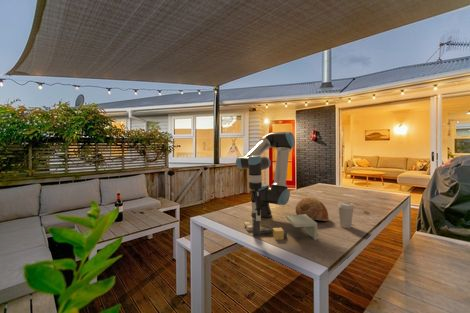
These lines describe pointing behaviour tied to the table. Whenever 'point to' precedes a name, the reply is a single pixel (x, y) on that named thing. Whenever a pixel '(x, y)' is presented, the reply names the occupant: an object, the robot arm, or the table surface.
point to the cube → (278, 233)
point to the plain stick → (248, 226)
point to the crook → (257, 231)
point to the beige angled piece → (304, 224)
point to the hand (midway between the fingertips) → (256, 216)
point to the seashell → (312, 209)
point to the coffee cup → (345, 214)
